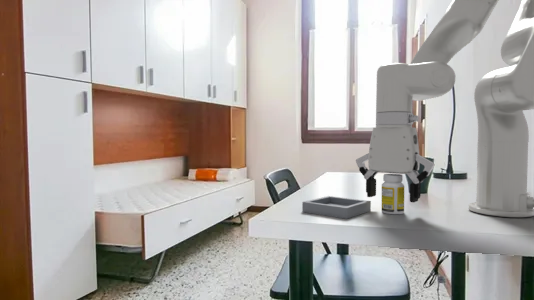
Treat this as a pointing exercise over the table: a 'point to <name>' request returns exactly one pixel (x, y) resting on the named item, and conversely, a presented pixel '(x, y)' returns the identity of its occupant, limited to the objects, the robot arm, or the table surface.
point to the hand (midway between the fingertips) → (392, 198)
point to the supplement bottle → (392, 194)
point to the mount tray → (336, 207)
